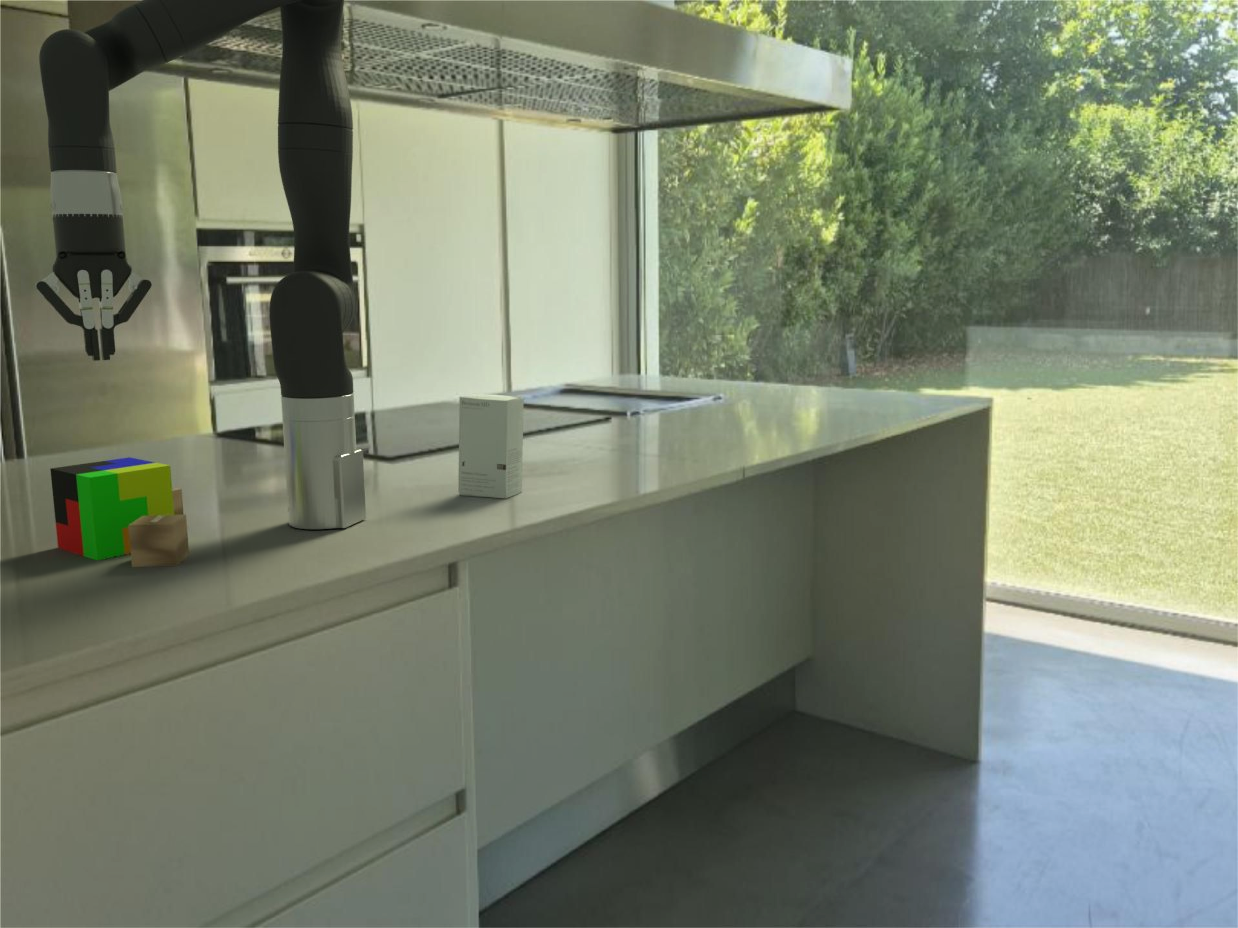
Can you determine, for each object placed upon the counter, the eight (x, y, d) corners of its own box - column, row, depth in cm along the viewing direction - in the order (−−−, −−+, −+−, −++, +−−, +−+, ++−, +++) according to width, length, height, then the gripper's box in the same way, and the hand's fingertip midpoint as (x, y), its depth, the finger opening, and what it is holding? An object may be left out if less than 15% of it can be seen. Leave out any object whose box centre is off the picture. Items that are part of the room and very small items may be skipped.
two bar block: (184, 525, 150) (181, 487, 149) (152, 533, 146) (149, 494, 145) (159, 521, 153) (156, 484, 152) (127, 529, 149) (124, 491, 148)
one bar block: (189, 555, 135) (185, 513, 134) (176, 566, 130) (173, 522, 129) (146, 556, 134) (142, 514, 133) (132, 567, 129) (128, 524, 129)
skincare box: (458, 496, 167) (454, 396, 165) (477, 488, 173) (473, 392, 170) (508, 499, 165) (506, 398, 162) (526, 491, 170) (524, 394, 167)
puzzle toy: (136, 533, 146) (129, 457, 145) (176, 544, 140) (170, 465, 138) (58, 548, 139) (50, 468, 137) (97, 561, 132) (89, 477, 131)
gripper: (144, 214, 139) (155, 355, 142) (22, 213, 132) (37, 360, 135) (153, 212, 132) (164, 359, 135) (25, 210, 126) (40, 365, 129)
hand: (100, 359), depth 135 cm, fingers closed
